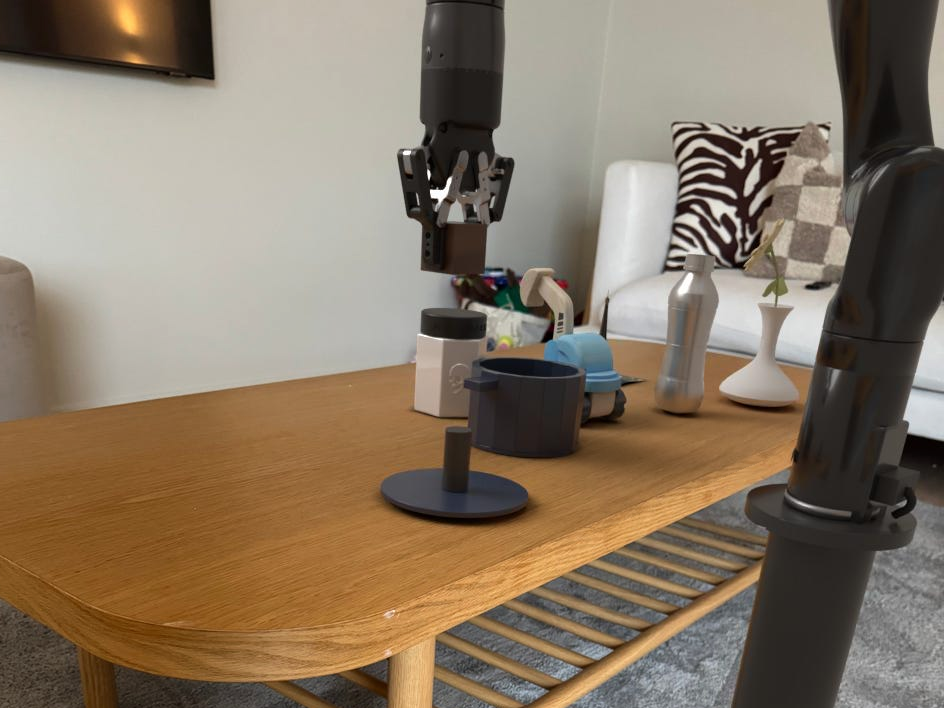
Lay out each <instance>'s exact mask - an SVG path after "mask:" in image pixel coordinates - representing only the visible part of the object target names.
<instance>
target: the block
mask: <svg viewBox="0 0 944 708" xmlns="http://www.w3.org/2000/svg"><path fill="white" fill-rule="evenodd" d="M443 229H447V231H446V255H445V268H444V270H442V271H436V270H429V269H426V268H425V265H424V262H423V258H422V251H423V226H422V225H421V242H420V243H421V247H420V251H421V252H420V271H422V272H430V273H435V274H442V275H450V276H463V275H465V276H467V275H485V273H486V258H487V241H488V240H487V238H488V228H487V224H479V223H468V222H464V221H458V220H457V221H455V220H447V223H446V226H445V227H444V228H443Z"/></svg>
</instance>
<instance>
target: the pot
mask: <svg viewBox="0 0 944 708" xmlns="http://www.w3.org/2000/svg"><path fill="white" fill-rule="evenodd" d="M586 375H587V373H586V369H584V368H580V367H577V366H575V365H572V364H567V363H563V362H558V361H552V360H545V359H544V358H538V357H537V358H536V357H523V356H491V357H490V356H489V357H486V358H480V359H477V360H475V361H472V368H471V378H465V379H464V388H466V389H470V397H469V411H468V418H467V424H466V425H467V428H470V429H471V430H472V440H471V446H473V447H475V448H476V449H480V450H482V451H485V452H489V453H493V454H496V455H497V454H498V455H503V456H510V457H519V458H533V459H537V458H539V459H541V458H542V459H543V458H545V459H546V458H556V457H563V456H567V455H570V454H572V453H574V452H576V451H577V448H578V445H579V440H580V433H581V425H582V424H581V417H582V408H583V400H584V392H585V384H586Z"/></svg>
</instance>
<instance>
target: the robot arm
mask: <svg viewBox="0 0 944 708" xmlns="http://www.w3.org/2000/svg"><path fill="white" fill-rule="evenodd" d="M826 5H827V6H826V7H827V13H828V20H829V26H830V27H829V29H830V36H831V43H832V50H833V56H834V62H835V69H836V74H837V79H838V80H837V81H838V85H839V93H840V99H841V101H840V102H841V112H842V193H841V194H842V199H841V202H842V203H841V205H842V206H841V208H842V209H841V211H842V218H843V224H844V227H845V229H846V232H847V234H848V237H850V241H849V244H848V249H847V254H846V257H845V261H844V266H843V270H842V273H841V277H840V279H839V283H838V286H837V287H836V290H835V292H834V294H833V296H832V297H831V298H830V300H829V301H828V303H827V305H826V309H825V314H824V318H823V323H822V327H821V328H822V329H821V332H820V336H819V337H820V338H819V342H818V346H817V350H816V355H815V361H814V364H813V369H812V373H811V377H810V382H809V386H808V391H807V395H806V400H805V404H804V409H803V413H802V419H801V422H800V426H799V430H798V435H797V440H796V443H795V444H796V445H795V446H794V448H793V450H792V452H791V453H792V454H791V457H790V462H789V463H791V468H790V471H789V478H788V479H787V488H786V490H785V494H784V498H783V501H784V503H785V504H786V505H788V506H789V507H791V508H793V509H795V510H797V511H799V512H802V513H805V514H808V515H812V516H815V517H820V518H824V519H830V520H837V521H847V522H852V523H856V524H864V523H866V522H868V521H871V520H873V519H876V518H878V517H880V516H882V515H884V514H885V513H886V510H887V506H888V505H890V506H894V505H898V504H901V503H903V502H905V501H906V503H905V504H904V505H902V506H900V507H901V508H899V509H896V510H895V511H893V512H891V515H892V517H893V518H894V519H898V518H899V517H902V516H904V515H906V514H908V513H912V512H913V510H914V509H915V508H916V506H917V501H918V500H917V496H916V490H917V486H918V483H919V480H920V475H921V471H919V470H915V469H910V468H906V467H902V466H900V465H899V464H900V462H901V458H902V454H903V451H904V446H905V443H906V440H907V436H908V432H909V428H910V422H909V421H908V420H906V419H904V418H905V415H906V410H907V407H908V402H909V399H910V396H911V391H912V389H913V384H914V382H915V377H916V374H917V373H916V372H917V370H918V365H919V362H920V358H921V355H922V351H923V347H924V344H925V342H924V341H925V340H926V336H927V333H928V329H929V326H930V324H931V321H932V320H933V318H934V317H935V316H936V313H937V312H938V310H939V308H940V306H941V304H942V302H943V298H944V148H942V147H939V146H936V145H935V137H934V132H933V124H932V116H931V115H932V114H931V106H930V94H929V71H930V60H931V53H932V47H933V40H934V39H933V38H934V34H935V28H936V24H937V23H936V22H937V16H938V11H939V5H940V0H826ZM505 6H506V0H425V10H424V11H425V12H424V18H423V19H424V20H423V27H422V33H421V52H420V54H421V55H420V59H421V61H420V89H419V92H420V93H419V121H420V123H421V124H422V125H423V126H424V129H425V130H424V134H423V137H422V139H421V142H420V145H418V146H416V147H413V148H399V149H398V150H397V153H396V159H397V166H398V172H399V177H400V183H401V189H402V195H403V200H404V202H403V203H404V207H405V214H406V216H407V218H408V219H411V220H415V221H416V222H418V223H420V225H421V227H422V226H423V251H422V258H423V262H424V265H425V268H426V269H429V270H436V271H442V270H444V268H445V255H446V231H447V229H443V228H444V227H445V226H446V223H447V221H448V220H449V219H448V217H449V216H450V211H451V207H452V205H454V204H455V203H456V202H457V203H459V204H460V206H461V211H462V218H463V222H468V223H479V224H487V229H488V228H489V227H490V225H491V224H493V223H494V222H495V223H500V222H501V221H502V219H503V216H504V212H505V207H506V203H507V199H508V196H509V195H508V194H509V190H510V186H511V182H512V178H513V173H514V169H515V159H514V157H511V156H510V157H509V156H508V157H507V156H502V155H500V154H499V153H497V152H496V148H495V145H494V140H493V139H494V138H493V135H494V134H493V133H494V131H495V130H497V129H498V128H499V127H500V126H501V123H502V122H501V121H502V109H503V108H502V105H503V104H502V103H503V89H504V75H505V60H506V59H505V57H506V27H505V25H506V24H505V22H506V21H505V14H506V13H505V11H506V10H505V8H506V7H505ZM493 198H494V199H493ZM492 199H493V204H492V207H491V203H492ZM475 209H476V210H475Z"/></svg>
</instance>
